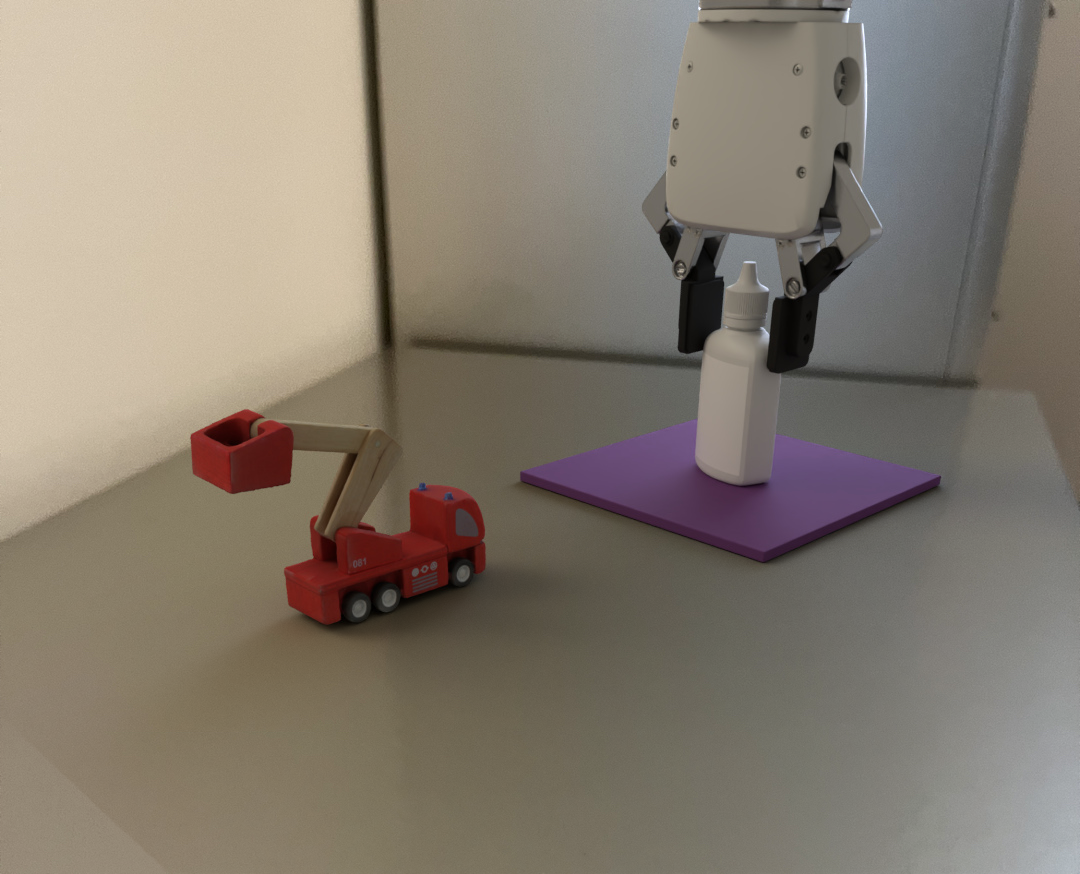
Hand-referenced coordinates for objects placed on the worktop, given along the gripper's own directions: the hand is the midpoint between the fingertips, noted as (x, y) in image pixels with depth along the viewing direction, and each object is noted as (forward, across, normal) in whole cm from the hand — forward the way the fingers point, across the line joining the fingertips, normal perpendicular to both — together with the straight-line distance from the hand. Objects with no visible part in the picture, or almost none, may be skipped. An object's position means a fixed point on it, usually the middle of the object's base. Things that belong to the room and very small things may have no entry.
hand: (741, 356), depth 68 cm
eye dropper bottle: (+7, 0, 0) cm, 7 cm away
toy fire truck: (+8, +1, +27) cm, 28 cm away
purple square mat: (+8, 0, 0) cm, 8 cm away
